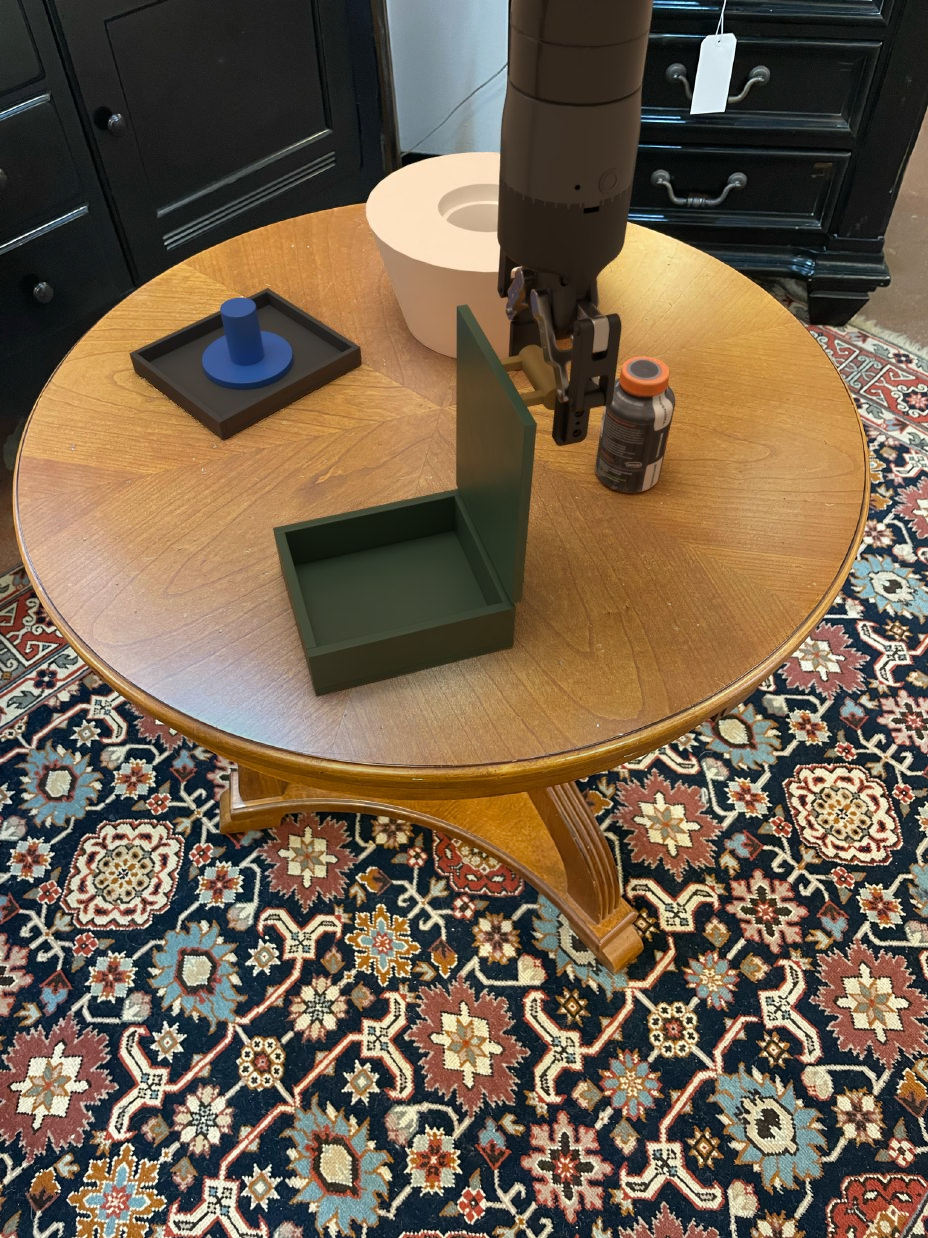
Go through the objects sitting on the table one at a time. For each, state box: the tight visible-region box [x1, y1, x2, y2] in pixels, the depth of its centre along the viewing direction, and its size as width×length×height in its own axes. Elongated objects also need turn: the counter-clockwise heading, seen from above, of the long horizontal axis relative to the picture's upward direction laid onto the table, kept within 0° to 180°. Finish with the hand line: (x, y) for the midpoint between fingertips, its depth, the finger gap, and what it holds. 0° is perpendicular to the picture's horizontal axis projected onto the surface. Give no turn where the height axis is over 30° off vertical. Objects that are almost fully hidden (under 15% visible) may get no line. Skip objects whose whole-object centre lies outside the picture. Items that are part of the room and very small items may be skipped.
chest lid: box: [455, 304, 557, 604], centre depth 68 cm, size 16×14×5 cm
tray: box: [128, 287, 363, 441], centre depth 96 cm, size 17×15×2 cm
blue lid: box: [202, 297, 293, 389], centre depth 94 cm, size 9×9×6 cm
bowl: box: [365, 151, 521, 359], centre depth 99 cm, size 24×24×12 cm
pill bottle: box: [594, 355, 676, 494], centre depth 83 cm, size 6×6×11 cm
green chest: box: [272, 488, 517, 697], centre depth 75 cm, size 16×14×5 cm
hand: (545, 402), depth 66 cm, fingers open, 8 cm apart
